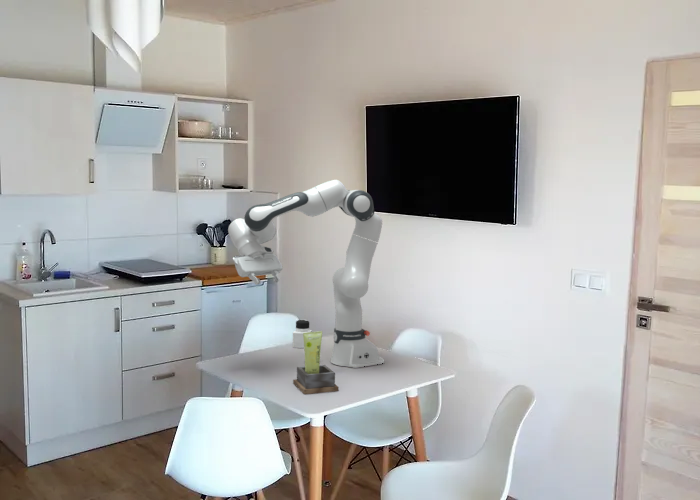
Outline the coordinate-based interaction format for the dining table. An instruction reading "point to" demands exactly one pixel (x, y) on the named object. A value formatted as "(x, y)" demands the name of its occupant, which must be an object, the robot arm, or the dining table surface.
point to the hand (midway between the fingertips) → (267, 282)
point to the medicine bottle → (300, 333)
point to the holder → (315, 380)
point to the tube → (312, 351)
